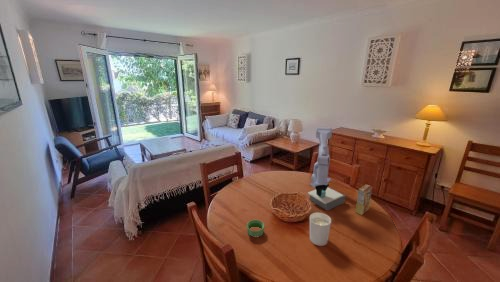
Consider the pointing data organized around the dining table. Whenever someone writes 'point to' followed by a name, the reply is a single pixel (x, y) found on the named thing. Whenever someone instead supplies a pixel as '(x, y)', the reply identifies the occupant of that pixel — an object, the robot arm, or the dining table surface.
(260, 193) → the dining table surface
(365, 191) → the candy box
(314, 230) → the candle holder
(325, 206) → the grey open box
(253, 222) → the green ring
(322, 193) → the lid
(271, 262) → the dining table surface
